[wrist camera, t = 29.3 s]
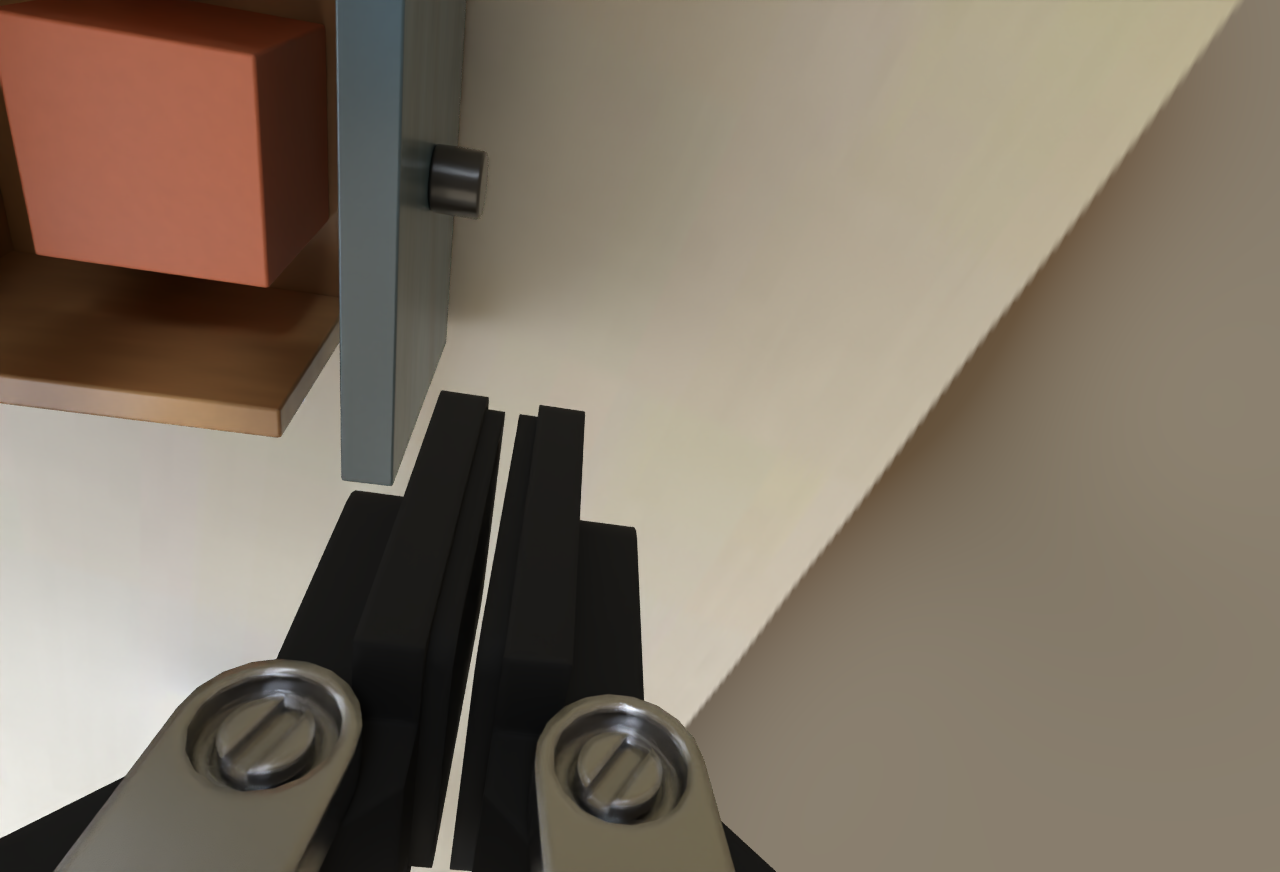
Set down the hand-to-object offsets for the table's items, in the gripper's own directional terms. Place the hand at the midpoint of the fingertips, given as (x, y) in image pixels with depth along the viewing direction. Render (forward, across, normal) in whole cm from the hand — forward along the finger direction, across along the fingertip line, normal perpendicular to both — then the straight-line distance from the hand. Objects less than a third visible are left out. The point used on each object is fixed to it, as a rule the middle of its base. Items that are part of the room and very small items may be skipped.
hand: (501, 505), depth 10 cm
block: (+15, +9, 0) cm, 17 cm away
